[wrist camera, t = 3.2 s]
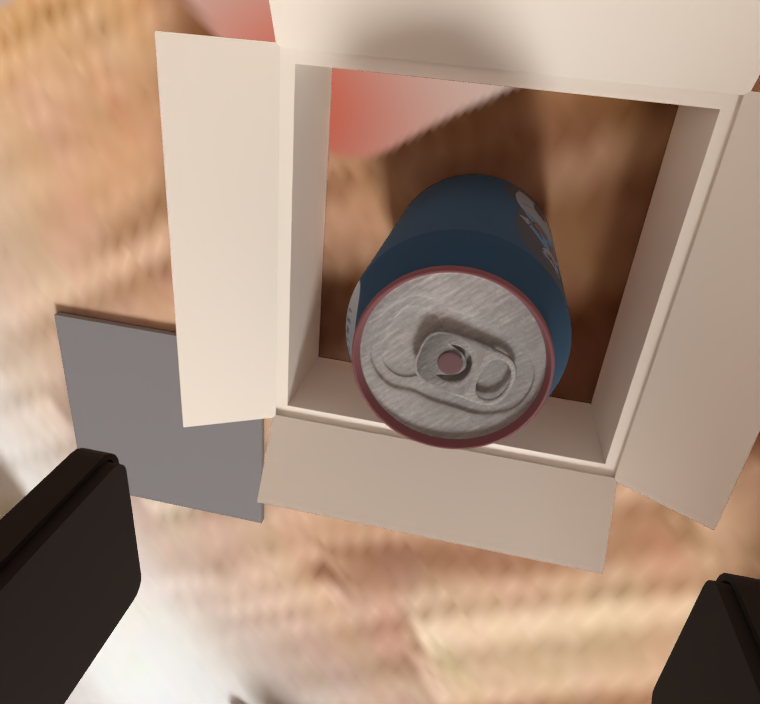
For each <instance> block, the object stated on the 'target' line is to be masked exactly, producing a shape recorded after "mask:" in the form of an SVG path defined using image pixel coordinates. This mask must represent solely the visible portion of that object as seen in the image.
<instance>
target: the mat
mask: <svg viewBox="0 0 760 704" xmlns="http://www.w3.org/2000/svg"><path fill="white" fill-rule="evenodd" d="M54 316H55V321H56V327H57V333H58V339H59V345H60V350H61V356H62V362H63V368H64V374H65V379H66V385H67V391H68V397H69V402H70V408H71V414H72V420H73V426H74V431H75V437H76V443H77V449H78V448H87V449H92V450H97V451H102V452H107V453H112V454H115V455H116V456H117V458H118V460H119V464H122V465H124V466H125V467H126V471H127V477H128V484H129V492H130V495H132V496H136V497H141V498H146V499H151V500H155V501H160V502H165V503H169V504H174V505H179V506H184V507H188V508H193V509H198V510H202V511H207V512H212V513H217V514H221V515H226V516H231V517H235V518H240V519H245V520H250V521H254V522H259V523H262V521H263V519H264V504H263V503H259V502H257V499H258V494H259V489H260V483H261V478H262V472H263V467H264V419H256V420H247V421H237V422H228V423H219V424H210V425H201V426H192V427H183V418H182V404H181V390H180V376H179V363H178V349H177V335H176V332H172V331H166V330H160V329H154V328H148V327H143V326H137V325H131V324H125V323H119V322H114V321H108V320H102V319H96V318H90V317H85V316H79V315H73V314H67V313H61V312H58V313H57V314H55V315H54Z"/></svg>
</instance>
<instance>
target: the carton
mask: <svg viewBox="0 0 760 704" xmlns="http://www.w3.org/2000/svg"><path fill="white" fill-rule="evenodd" d="M269 4H270V10H271V16H272V22H273V28H274V34H275V40H276V42H269V41H258V40H248V39H237V38H227V37H216V36H206V35H195V34H185V33H174V32H164V31H154V32H155V46H156V60H157V73H158V87H159V101H160V115H161V128H162V142H163V156H164V170H165V184H166V197H167V211H168V225H169V239H170V252H171V266H172V280H173V294H174V307H175V321H176V335H177V349H178V363H179V376H180V390H181V404H182V418H183V427H192V426H201V425H210V424H219V423H228V422H237V421H247V420H256V419H265V418H272V423H271V428H270V434H269V439H268V445H267V450H266V456H265V461H264V467H263V472H262V478H261V483H260V489H259V494H258V499H257V502H259V503H263V504H268V505H273V506H278V507H283V508H288V509H292V510H297V511H302V512H307V513H312V514H316V515H321V516H326V517H331V518H336V519H340V520H345V521H350V522H355V523H360V524H365V525H369V526H374V527H379V528H384V529H389V530H393V531H398V532H403V533H408V534H413V535H418V536H422V537H427V538H432V539H437V540H442V541H446V542H451V543H456V544H461V545H466V546H471V547H475V548H480V549H485V550H490V551H495V552H499V553H504V554H509V555H514V556H519V557H523V558H528V559H533V560H538V561H543V562H548V563H552V564H557V565H562V566H567V567H572V568H576V569H581V570H586V571H591V572H596V573H601V574H603V569H604V563H605V556H606V550H607V543H608V537H609V531H610V524H611V518H612V511H613V505H614V498H615V492H616V485H617V483H619V484H621V485H623V486H625V487H627V488H629V489H631V490H633V491H635V492H637V493H639V494H641V495H643V496H646V497H648V498H650V499H652V500H654V501H656V502H658V503H660V504H662V505H664V506H666V507H668V508H670V509H672V510H674V511H676V512H678V513H680V514H682V515H684V516H686V517H688V518H690V519H692V520H694V521H696V522H698V523H700V524H702V525H704V526H706V527H708V528H710V529H712V530H714V529H715V527H716V525H717V523H718V521H719V519H720V517H721V515H722V513H723V510H724V508H725V506H726V504H727V502H728V499H729V497H730V495H731V493H732V491H733V488H734V486H735V484H736V482H737V480H738V478H739V475H740V473H741V471H742V469H743V467H744V464H745V462H746V460H747V458H748V456H749V453H750V451H751V449H752V447H753V445H754V442H755V440H756V438H757V436H758V434H759V432H760V92H755V91H751V90H752V88H753V86H754V84H755V83H756V81H757V79H758V77H759V75H760V0H269ZM332 68H341V69H350V70H359V71H368V72H378V73H387V74H396V75H406V76H415V77H424V78H433V79H443V80H452V81H462V82H472V83H480V84H489V85H498V86H508V87H517V88H526V89H536V90H545V91H554V92H564V93H573V94H582V95H592V96H601V97H610V98H620V99H629V100H638V101H648V102H657V103H666V104H676V105H679V107H678V110H677V113H676V117H675V120H674V123H673V127H672V130H671V134H670V137H669V140H668V144H667V147H666V151H665V154H664V157H663V161H662V164H661V168H660V171H659V174H658V178H657V181H656V185H655V188H654V191H653V195H652V198H651V202H650V205H649V208H648V212H647V215H646V219H645V222H644V225H643V229H642V232H641V236H640V239H639V242H638V246H637V249H636V253H635V256H634V259H633V263H632V266H631V269H630V273H629V276H628V280H627V283H626V286H625V290H624V293H623V297H622V300H621V303H620V307H619V310H618V314H617V317H616V320H615V324H614V327H613V331H612V334H611V337H610V341H609V344H608V348H607V351H606V354H605V358H604V361H603V365H602V368H601V371H600V375H599V378H598V382H597V385H596V388H595V392H594V395H593V399H592V402H591V404H590V403H584V402H578V401H572V400H566V399H560V398H555V397H548V398H547V399H546V400H545V401H544V403H543V405H542V406H541V408H540V409H539V411H538V412H537V413H536V415H535V416H534V417H533V418H532V419H531V420H530V421H529V422H528V423H527V424H526V425H525V426H523V427H522V428H521V429H520V430H518V431H517V432H515V433H514V434H512V435H510V436H509V437H507V438H505V439H503V440H501V441H498V442H496V443H493V444H490V445H486V446H482V447H478V448H471V449H444V448H437V447H432V446H428V445H425V444H421V443H418V442H416V441H413V440H411V439H408V438H406V437H404V436H402V435H400V434H399V433H397V432H395V431H394V430H392V429H391V428H389V427H388V426H387V425H386V424H385V423H383V422H382V421H381V420H380V419H379V418H378V417H377V416H376V414H375V413H374V412H373V411H372V410H371V408H370V407H369V406H368V404H367V403H366V401H365V399H364V398H363V396H362V394H361V392H360V390H359V388H358V385H357V383H356V380H355V376H354V372H353V367H352V362H346V361H340V360H334V359H328V358H323V357H318V355H319V334H320V313H321V293H322V272H323V251H324V230H325V209H326V189H327V168H328V147H329V125H330V106H331V105H330V104H331V85H332Z"/></svg>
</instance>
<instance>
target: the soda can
mask: <svg viewBox="0 0 760 704" xmlns="http://www.w3.org/2000/svg"><path fill="white" fill-rule="evenodd" d="M571 339H572V331H571V321H570V315H569V311H568V306H567V302H566V297H565V293H564V289H563V284H562V280H561V275H560V271H559V266H558V262H557V258H556V253H555V249H554V244H553V240H552V235H551V231H550V228H549V225H548V223H547V220H546V218H545V216H544V214H543V213H542V211H541V209H540V208H539V207H538V205H537V204H536V203H535V202H534V201H533V199H532V198H531V197H530V196H529V195H527V194H526V193H525V192H524V191H523V190H521V189H520V188H518V187H517V186H515V185H513V184H511V183H509V182H507V181H505V180H502V179H499V178H496V177H492V176H487V175H478V174H470V175H461V176H455V177H451V178H448V179H445V180H443V181H440V182H438V183H436V184H434V185H432V186H431V187H429V188H427V189H426V190H425V191H423V192H422V193H421V194H420V195H418V196H417V197H416V198H415V199H414V200H413V201H412V203H411V204H410V205H409V206H408V208H407V209H406V210H405V212H404V213H403V215H402V216H401V218H400V219H399V221H398V222H397V224H396V225H395V227H394V228H393V230H392V232H391V233H390V235H389V236H388V238H387V239H386V241H385V242H384V244H383V245H382V247H381V248H380V250H379V251H378V253H377V254H376V256H375V257H374V259H373V260H372V262H371V263H370V265H369V266H368V268H367V269H366V271H365V272H364V274H363V275H362V277H361V278H360V280H359V282H358V283H357V285H356V287H355V289H354V292H353V294H352V297H351V299H350V303H349V306H348V311H347V318H346V340H347V347H348V351H349V355H350V358H351V361H352V367H353V372H354V376H355V380H356V383H357V385H358V388H359V390H360V392H361V394H362V396H363V398H364V399H365V401H366V403H367V404H368V406H369V407H370V408H371V410H372V411H373V412H374V413H375V414H376V416H377V417H378V418H379V419H380V420H381V421H382V422H383V423H385V424H386V425H387V426H388V427H389V428H391V429H392V430H394V431H395V432H397V433H399V434H400V435H402V436H404V437H406V438H408V439H411V440H413V441H416V442H418V443H421V444H425V445H428V446H432V447H437V448H444V449H471V448H478V447H482V446H486V445H490V444H493V443H496V442H498V441H501V440H503V439H505V438H507V437H509V436H510V435H512V434H514V433H515V432H517V431H518V430H520V429H521V428H522V427H523V426H525V425H526V424H527V423H528V422H529V421H530V420H531V419H532V418H533V417H534V416H535V415H536V413H537V412H538V411H539V409H540V408H541V406H542V405H543V403H544V401H545V400H546V399H547V398H548V397H549V395H550V394H551V393H552V392H553V390H554V389H555V387H556V386H557V384H558V383H559V381H560V379H561V377H562V375H563V373H564V370H565V368H566V365H567V362H568V359H569V354H570V349H571Z"/></svg>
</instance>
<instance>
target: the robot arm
mask: <svg viewBox="0 0 760 704" xmlns="http://www.w3.org/2000/svg"><path fill="white" fill-rule="evenodd" d="M140 583H141V571H140V564H139V557H138V550H137V542H136V535H135V528H134V521H133V513H132V506H131V499H130V492H129V484H128V477H127V471H126V467H125V466H124V465H122V464H119V460H118V458H117V456H116V455H115V454H112V453H107V452H102V451H97V450H92V449H87V448H78V449H76V450H75V451H73V452H72V453H71V454H70V455H69V456H68V457H67V458H66V459H65V460H63V461H62V462H61V463H60V464H59V465H58V466H57V467H56V468H55V469H54V470H53V471H52V472H51V473H50V474H49V475H48V476H46V477H45V478H44V479H43V480H42V481H41V482H40V483H39V484H38V485H37V486H36V487H35V488H34V489H33V490H32V491H30V492H29V493H28V494H27V495H26V496H25V497H24V498H23V499H22V500H21V501H20V502H19V503H18V504H17V505H16V506H15V507H13V508H12V509H11V510H10V511H9V512H8V513H7V514H6V515H5V516H4V517H3V518H2V519H1V520H0V704H64V703H65V702H66V700H67V699H68V697H69V696H70V694H71V693H72V691H73V690H74V688H75V687H76V685H77V684H78V682H79V681H80V679H81V678H82V676H83V675H84V673H85V672H86V670H87V669H88V667H89V666H90V664H91V663H92V661H93V660H94V658H95V657H96V655H97V654H98V653H99V651H100V650H101V648H102V647H103V645H104V644H105V642H106V641H107V639H108V638H109V636H110V635H111V633H112V632H113V630H114V629H115V627H116V626H117V624H118V623H119V621H120V620H121V618H122V617H123V615H124V614H125V612H126V611H127V609H128V608H129V606H130V605H131V603H132V602H133V600H134V598H135V597H136V595H137V593H138V590H139V587H140ZM652 704H760V580H759V579H754V578H749V577H744V576H739V575H733V574H728V573H723V574H721V575H720V576H719V577H718V578H717V580H716V581H712V580H708V581H707V582H706V583H705V584H704V586H703V588H702V590H701V592H700V594H699V596H698V598H697V600H696V602H695V605H694V607H693V609H692V611H691V613H690V615H689V617H688V619H687V621H686V623H685V625H684V627H683V629H682V631H681V634H680V636H679V638H678V640H677V642H676V644H675V646H674V648H673V650H672V652H671V654H670V656H669V658H668V660H667V663H666V665H665V667H664V669H663V671H662V673H661V675H660V677H659V679H658V681H657V683H656V685H655V687H654V690H653V694H652Z"/></svg>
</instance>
